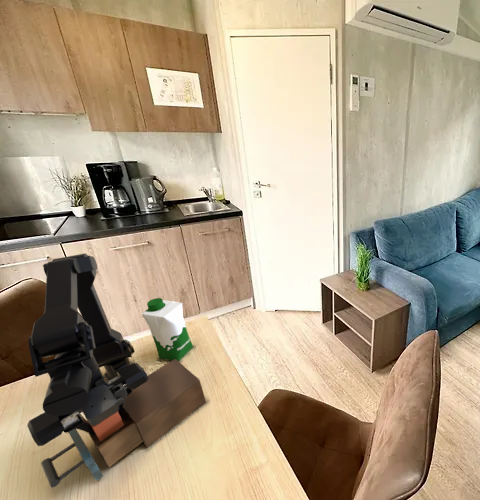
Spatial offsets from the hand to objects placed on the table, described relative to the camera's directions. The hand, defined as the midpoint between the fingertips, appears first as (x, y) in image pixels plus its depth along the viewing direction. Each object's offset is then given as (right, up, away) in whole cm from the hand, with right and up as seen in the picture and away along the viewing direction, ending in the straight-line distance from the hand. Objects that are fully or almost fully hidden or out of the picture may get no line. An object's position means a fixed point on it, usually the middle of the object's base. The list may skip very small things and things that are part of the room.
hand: (107, 424), depth 64 cm
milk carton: (-3, +5, +30) cm, 31 cm away
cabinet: (+6, -3, +11) cm, 13 cm away
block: (0, -1, 0) cm, 1 cm away
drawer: (-1, -6, +2) cm, 7 cm away
